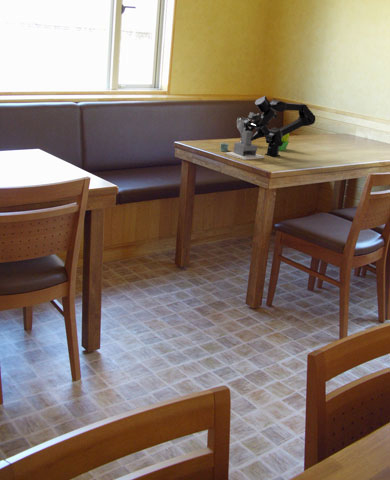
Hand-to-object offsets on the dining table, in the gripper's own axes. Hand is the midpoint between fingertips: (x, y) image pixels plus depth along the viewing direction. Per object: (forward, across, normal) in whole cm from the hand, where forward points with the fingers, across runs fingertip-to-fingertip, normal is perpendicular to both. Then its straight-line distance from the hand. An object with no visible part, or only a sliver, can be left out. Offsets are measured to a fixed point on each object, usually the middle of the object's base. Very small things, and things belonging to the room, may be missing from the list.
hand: (246, 138), depth 331 cm
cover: (+6, 0, +6) cm, 9 cm away
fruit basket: (-19, -15, +33) cm, 41 cm away
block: (+10, -14, +4) cm, 18 cm away
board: (+7, 0, +7) cm, 10 cm away
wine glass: (-8, -33, +22) cm, 40 cm away
